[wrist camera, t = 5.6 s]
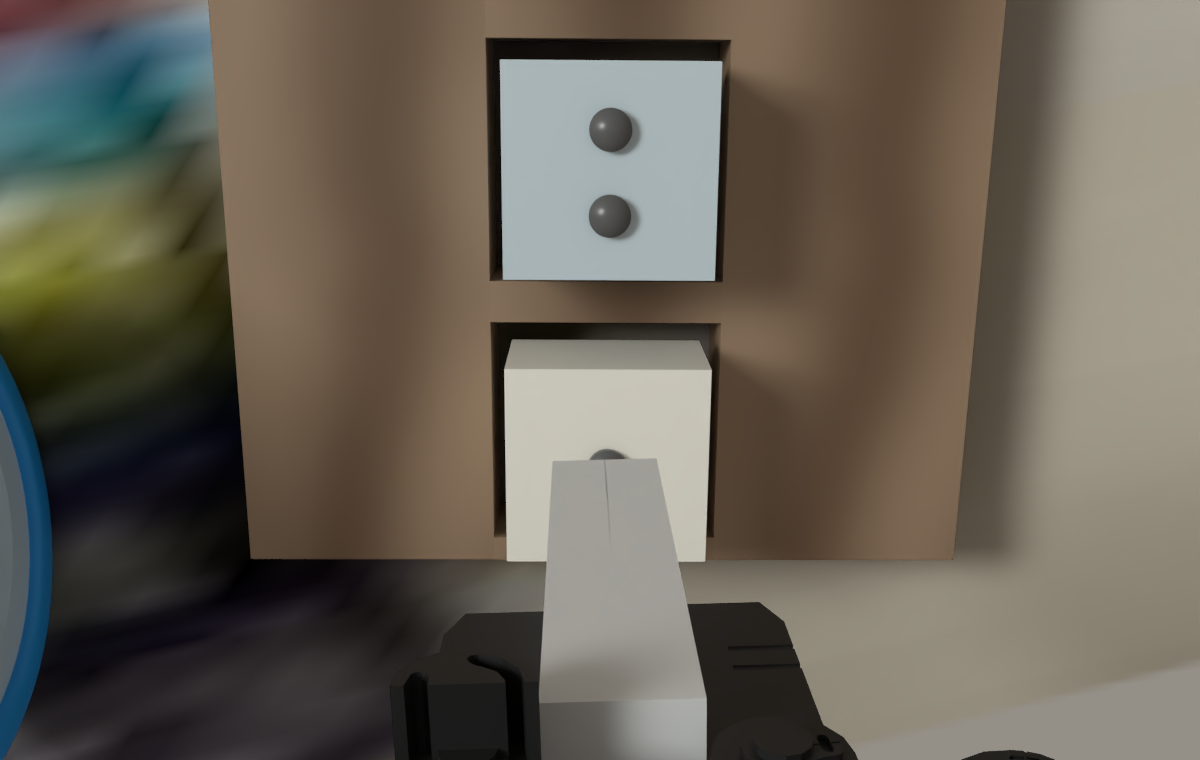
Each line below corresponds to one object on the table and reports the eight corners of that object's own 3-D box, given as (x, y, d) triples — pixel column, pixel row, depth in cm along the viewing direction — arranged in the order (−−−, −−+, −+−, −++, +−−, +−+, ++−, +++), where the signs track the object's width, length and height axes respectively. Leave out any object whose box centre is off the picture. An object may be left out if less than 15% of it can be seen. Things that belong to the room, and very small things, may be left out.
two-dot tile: (511, 258, 28) (502, 281, 25) (508, 60, 26) (499, 59, 23) (701, 259, 28) (715, 282, 25) (707, 62, 27) (723, 61, 24)
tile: (514, 514, 29) (506, 564, 26) (512, 339, 28) (503, 371, 25) (693, 515, 29) (706, 565, 26) (699, 340, 28) (713, 372, 25)
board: (275, 523, 32) (250, 558, 29) (218, -289, 26) (183, -323, 24) (926, 524, 32) (953, 559, 30) (996, -278, 27) (1036, -312, 24)
